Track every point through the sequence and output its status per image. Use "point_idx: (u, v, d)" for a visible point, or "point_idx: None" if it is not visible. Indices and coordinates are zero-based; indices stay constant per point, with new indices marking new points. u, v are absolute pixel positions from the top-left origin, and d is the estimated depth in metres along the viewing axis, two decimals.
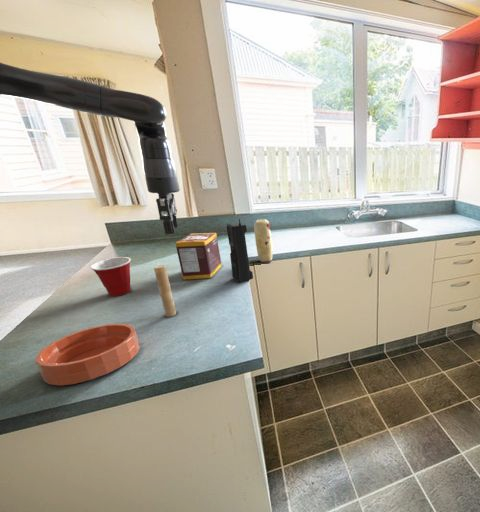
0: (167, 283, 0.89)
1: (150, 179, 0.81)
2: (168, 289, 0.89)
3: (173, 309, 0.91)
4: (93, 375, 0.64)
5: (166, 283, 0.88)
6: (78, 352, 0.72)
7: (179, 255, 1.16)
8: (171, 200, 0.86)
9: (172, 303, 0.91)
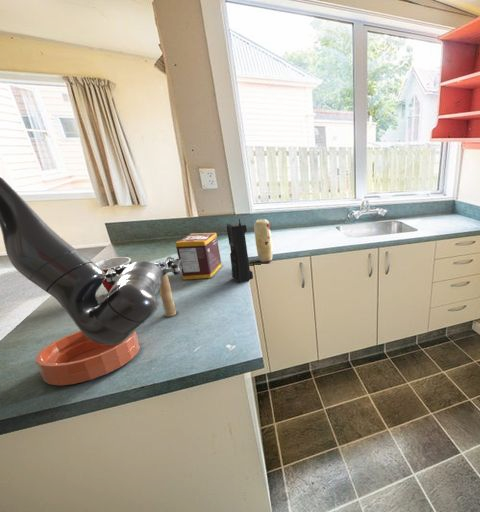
0: (167, 283, 0.89)
1: None
2: (168, 289, 0.89)
3: (173, 309, 0.91)
4: (93, 375, 0.64)
5: (166, 283, 0.88)
6: (78, 352, 0.72)
7: (179, 255, 1.16)
8: None
9: (172, 303, 0.91)
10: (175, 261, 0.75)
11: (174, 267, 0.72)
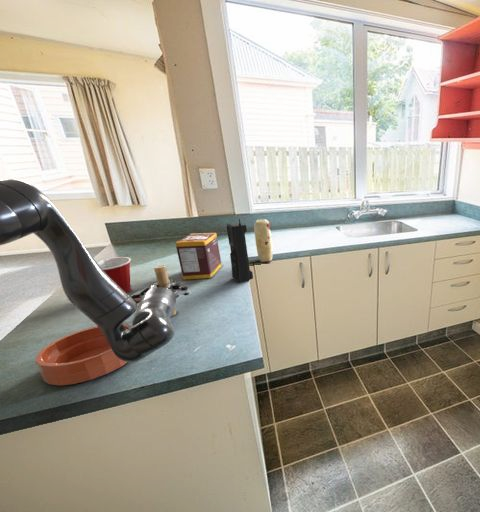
0: (167, 283, 0.89)
1: (141, 299, 0.76)
2: None
3: None
4: (93, 375, 0.64)
5: (166, 283, 0.89)
6: (78, 352, 0.72)
7: (179, 255, 1.16)
8: None
9: None
10: (179, 284, 0.88)
11: (186, 289, 0.86)
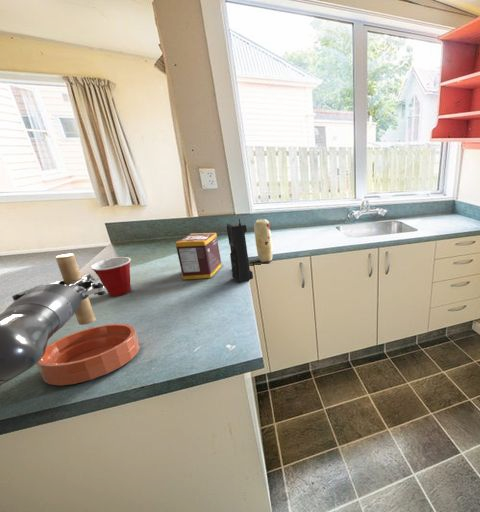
0: (77, 278, 0.64)
1: None
2: None
3: (89, 314, 0.67)
4: (93, 375, 0.64)
5: (76, 278, 0.64)
6: (78, 352, 0.72)
7: (179, 255, 1.16)
8: None
9: (87, 306, 0.66)
10: (93, 280, 0.63)
11: (99, 286, 0.62)
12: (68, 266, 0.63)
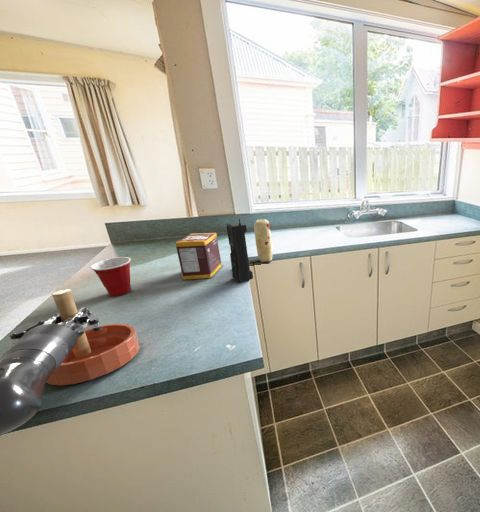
0: (73, 314, 0.66)
1: None
2: None
3: (85, 347, 0.69)
4: (93, 375, 0.64)
5: (72, 313, 0.66)
6: None
7: (179, 255, 1.16)
8: None
9: (83, 339, 0.68)
10: (89, 316, 0.65)
11: (95, 323, 0.64)
12: (64, 302, 0.65)
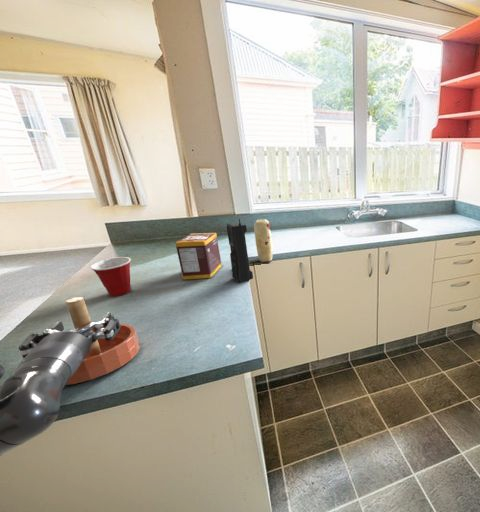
0: (86, 321, 0.67)
1: (30, 352, 0.54)
2: None
3: (97, 354, 0.69)
4: (93, 375, 0.64)
5: (85, 321, 0.66)
6: None
7: (179, 255, 1.16)
8: None
9: (95, 346, 0.69)
10: (110, 323, 0.66)
11: (105, 333, 0.63)
12: (78, 310, 0.65)
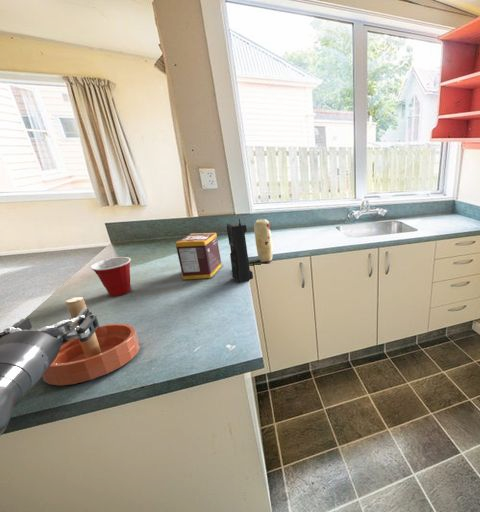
0: None
1: None
2: None
3: (97, 354, 0.69)
4: (93, 375, 0.64)
5: None
6: (78, 352, 0.72)
7: (179, 255, 1.16)
8: None
9: (95, 346, 0.69)
10: (86, 320, 0.56)
11: (79, 332, 0.53)
12: (78, 310, 0.65)
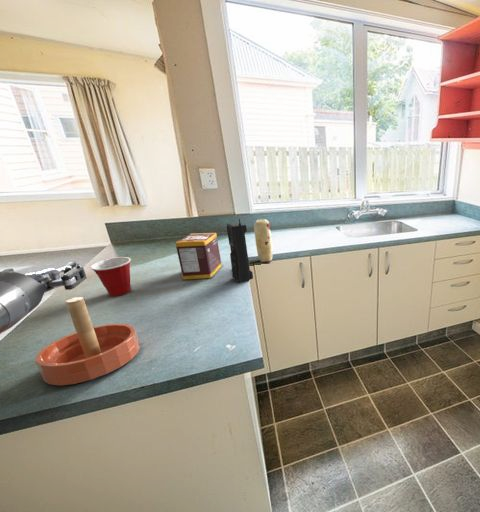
0: (86, 321, 0.67)
1: None
2: (88, 328, 0.67)
3: (97, 354, 0.69)
4: (93, 375, 0.64)
5: (85, 321, 0.66)
6: (78, 352, 0.72)
7: (179, 255, 1.16)
8: None
9: (95, 346, 0.69)
10: (72, 270, 0.53)
11: (64, 279, 0.51)
12: (78, 310, 0.65)
